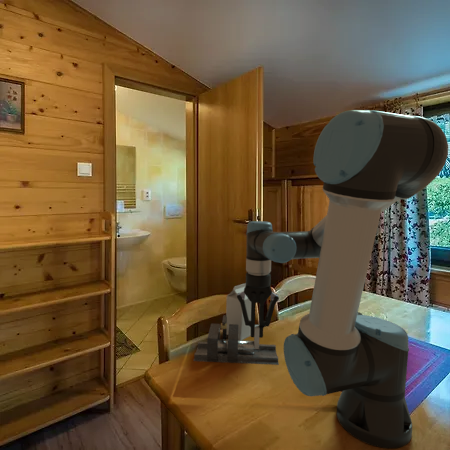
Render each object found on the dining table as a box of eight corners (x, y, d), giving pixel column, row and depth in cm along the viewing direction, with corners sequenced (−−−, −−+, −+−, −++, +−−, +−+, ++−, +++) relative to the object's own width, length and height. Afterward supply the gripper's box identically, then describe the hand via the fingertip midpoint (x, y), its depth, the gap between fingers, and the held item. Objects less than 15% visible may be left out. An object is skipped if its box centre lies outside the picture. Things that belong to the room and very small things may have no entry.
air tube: (253, 350, 100) (254, 338, 100) (254, 356, 96) (254, 344, 96) (215, 348, 101) (216, 337, 101) (214, 354, 97) (215, 342, 97)
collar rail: (278, 368, 92) (279, 332, 91) (193, 364, 94) (193, 329, 93) (274, 348, 104) (275, 316, 103) (199, 345, 105) (199, 314, 104)
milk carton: (254, 337, 112) (255, 284, 111) (241, 343, 107) (242, 289, 105) (238, 331, 117) (239, 280, 115) (225, 337, 112) (226, 284, 110)
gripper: (278, 270, 99) (276, 342, 102) (237, 268, 100) (235, 340, 103) (281, 276, 92) (278, 353, 94) (236, 274, 93) (235, 351, 95)
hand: (256, 346), depth 98 cm, fingers closed
